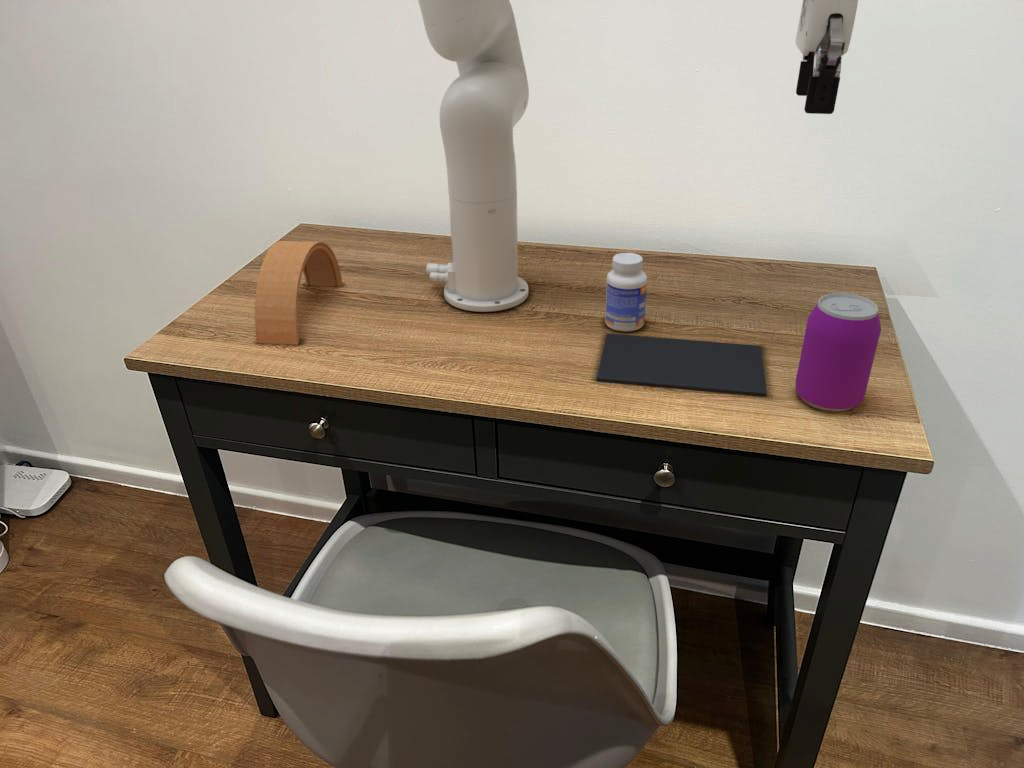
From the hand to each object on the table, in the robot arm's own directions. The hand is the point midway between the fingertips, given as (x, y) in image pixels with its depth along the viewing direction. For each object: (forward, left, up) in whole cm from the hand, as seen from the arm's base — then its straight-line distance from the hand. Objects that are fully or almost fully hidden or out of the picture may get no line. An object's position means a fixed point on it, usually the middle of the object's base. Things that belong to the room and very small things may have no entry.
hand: (813, 103), depth 97 cm
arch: (-67, -9, -29) cm, 73 cm away
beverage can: (+4, -20, -29) cm, 36 cm away
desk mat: (-13, -15, -29) cm, 35 cm away
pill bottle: (-21, -5, -29) cm, 36 cm away
